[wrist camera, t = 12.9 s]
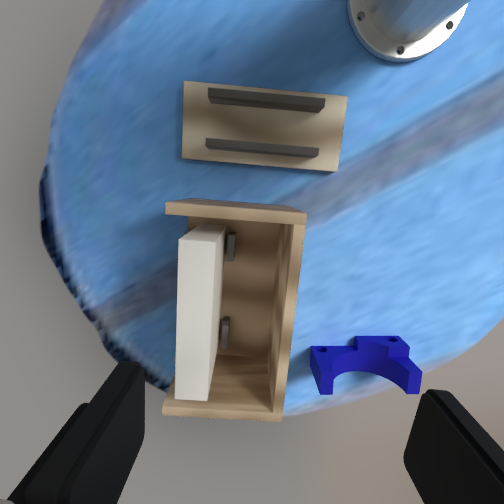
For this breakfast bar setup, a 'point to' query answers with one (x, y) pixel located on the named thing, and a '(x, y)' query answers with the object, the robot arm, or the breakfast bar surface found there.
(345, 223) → the breakfast bar surface
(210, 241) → the door
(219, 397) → the cabinet
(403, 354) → the cable clip
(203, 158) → the door stand
